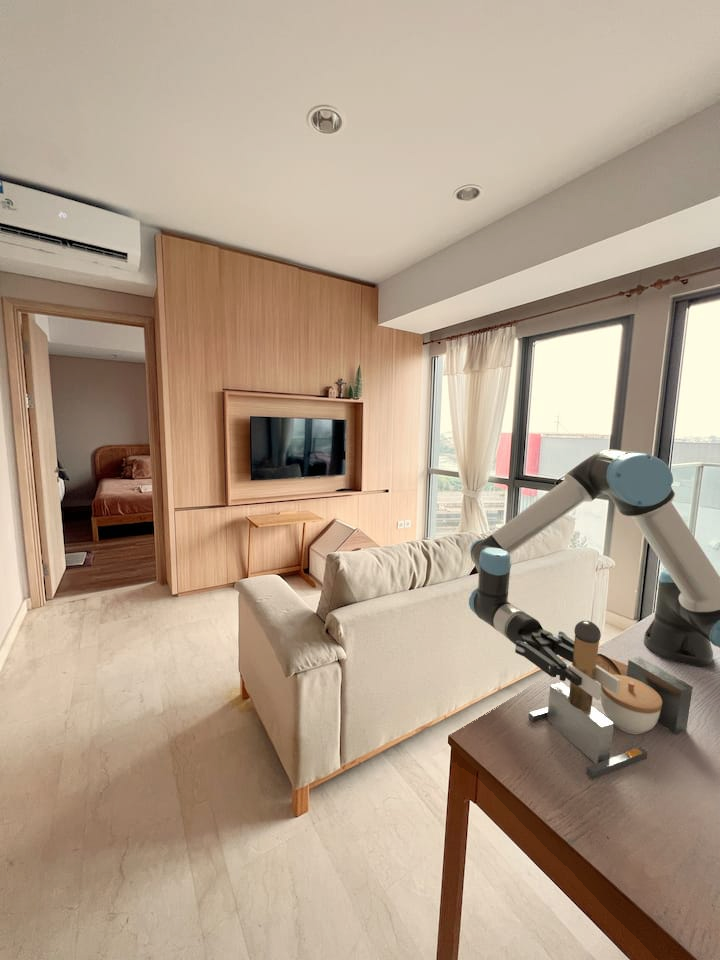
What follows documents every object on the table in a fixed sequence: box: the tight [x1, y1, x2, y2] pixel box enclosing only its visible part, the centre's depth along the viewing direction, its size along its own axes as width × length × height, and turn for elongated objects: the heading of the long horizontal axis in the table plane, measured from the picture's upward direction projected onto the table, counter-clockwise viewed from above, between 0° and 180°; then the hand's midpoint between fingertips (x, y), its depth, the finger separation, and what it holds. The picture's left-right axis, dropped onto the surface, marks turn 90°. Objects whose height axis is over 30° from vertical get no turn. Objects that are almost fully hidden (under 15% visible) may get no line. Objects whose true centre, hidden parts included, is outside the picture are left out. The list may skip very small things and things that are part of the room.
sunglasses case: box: [596, 653, 628, 676], centre depth 96 cm, size 18×7×7 cm, turn 43°
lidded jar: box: [600, 675, 663, 735], centre depth 83 cm, size 11×11×9 cm
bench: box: [528, 656, 694, 781], centre depth 81 cm, size 29×15×10 cm, turn 109°
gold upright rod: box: [546, 620, 615, 764], centre depth 77 cm, size 4×12×25 cm, turn 19°
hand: (608, 689), depth 72 cm, fingers closed on gold upright rod, 4 cm apart
